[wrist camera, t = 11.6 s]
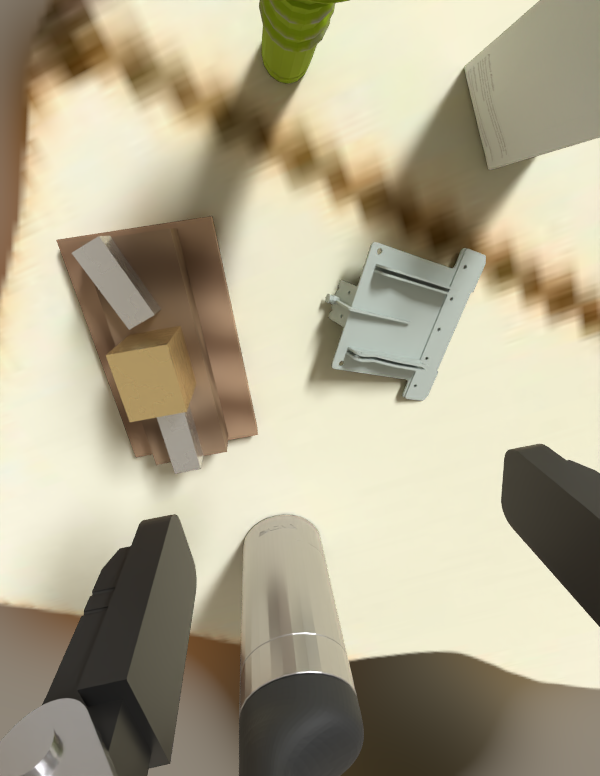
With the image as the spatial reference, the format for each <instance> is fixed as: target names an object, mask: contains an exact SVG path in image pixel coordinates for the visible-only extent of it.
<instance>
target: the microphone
mask: <svg viewBox="0 0 600 776" xmlns="http://www.w3.org/2000/svg"><path fill="white" fill-rule="evenodd" d="M343 1H349V0H260V3H259V9H260V13H261V18H262V22H263V33H262V53H261V54H262V58H263V62H264V66H265V68H266V69H267V71H268V73H269V74H270V75H271V76H272V77H273V78H274V79H276V80H277V81H278V82H283V83H287V84H288V83H292V82H296V81H298V80H299V79H300V78H301V77H302V76H303V75H304V74H305V72H306V70H307V68H308V66H309V64H310V61H311V59H312V57H313V54H314V51H315V48H316V45H317V43H319V42H320V41H321V40H322V38H323V36H324V34H325V32H326V30H327V28H328V26H329V24H330V18H331V16H332V14H333V12H334V7H335V3H337V2H343Z"/></svg>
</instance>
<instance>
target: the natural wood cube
mask: <svg viewBox="0 0 600 776" xmlns="http://www.w3.org/2000/svg"><path fill="white" fill-rule="evenodd" d="M106 358H107V361H108V363H109V366H110V369H111V372H112V374H113V377H114V380H115V383H116V385H117V388H118V391H119V394H120V397H121V399H122V402H123V405H124V408H125V410H126V413H127V416H128V419H129V422H134V421H140V420H145V419H151V418H156V417H162V416H167V415H173V414H178V413H184V412H187V409H188V407H189V404H190V401H191V398H192V395H193V392H194V389H195V387H196V380H195V376H194V373H193V369H192V365H191V362H190V358H189V354H188V351H187V347H186V343H185V339H184V336H183V332H182V328H181V326H176V327H171V328H165V329H159V330H153V331H147V332H141V333H135V334H130V335H129V336H127V337H126V338H125V339H124V340H123V341H122V342H120V343H119V344H118V345H117V346H116V347H115V348H113V349H112V350H111V351H110V352H109V353H108V354H106Z"/></svg>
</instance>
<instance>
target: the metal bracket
mask: <svg viewBox="0 0 600 776" xmlns="http://www.w3.org/2000/svg"><path fill="white" fill-rule="evenodd" d="M379 248H381V253H380V254H377V250H378V249H379ZM485 262H486V256H485V255H483V254H481V253H478V252H476V251H473V250H470V249H467V248H463V249H462V250H461V252H460V254H459V257H458V259H457V262H456V264H455V266H454V267H453V268H449V267H446V266H443V265H440V264H437V263H435V262H432V261H429V260H426V259H423V258H420V257H418V256H415V255H412V254H409V253H406V252H403V251H400V250H398V249H395V248H392V247H389V246H386V245H383V244H380V243H378V242H373V243H372V244H371V246H370V249H369V252H368V255H367V258H366V261H365V264H364V267H363V270H362V273H361V276H360V279H359V282H358V285H357V286H355V285H353V284H350V283H348V282H345V281H343V280H340V282H339V285H338V286H339V289H338V290H337V291H336V294H335V296H334V295H330V294H327V296H326V301H325V302H327V303H331V304H332V307H331V308H332V311H331V312H330V313H329V317H328V318H329V319H331V320H333V321H334V322H336V323H338V324H339V325H341V326H343V327H344V328H343V331H342V334H341V337H340V340H339V343H338V346H337V349H336V352H335V355H334V358H333V361H332V364H331V366H332V368H334V369H339V370H346V371H353V372H359V373H366V374H373V375H379V376H386V377H393V378H399V379H406V380H407V384H406V386H405V389H404V391H403V394H402V396H403V397H404V398H406V399H413V400H421V401H423V400H424V399H425V398H426V397H427V396H428V394H429V392H430V390H431V387H432V385H433V383H434V380H435V378H436V376H437V374H438V371H437V370H438V368H439V365H440V363H441V361H442V358H443V356H444V354H445V351H446V349H447V347H448V344H449V342H450V340H451V337H452V335H453V333H454V331H455V328H456V326H457V324H458V321H459V319H460V317H461V314H462V312H463V310H464V307H465V305H466V303H467V300H468V298H469V296H470V294H471V292H473V291H474V289H475V287H476V284H477V282H478V280H479V277H480V275H481V273H482V271H483V268H484V266H485ZM464 265H465V268H464ZM451 297H452V299H451V301H450V298H451ZM342 316H343V317H342ZM438 328H439V330H438ZM437 330H438V331H437ZM426 357H427V359H426V360H425V358H426ZM341 361H343V364H342V365H341V366H339V363H340V362H341ZM415 384H416V385H415ZM414 385H415V387H414Z"/></svg>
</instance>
